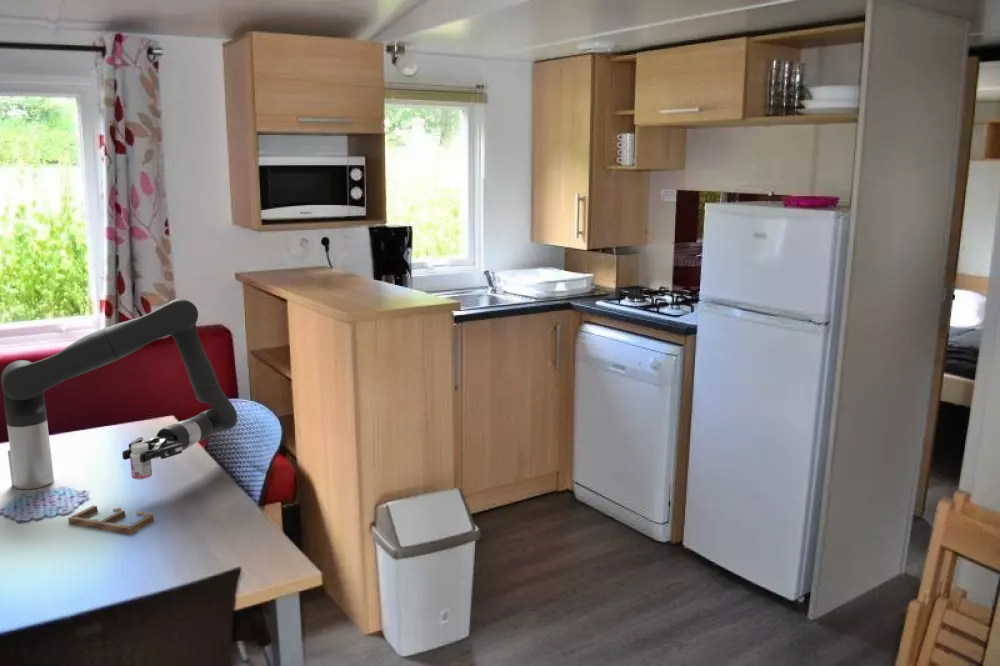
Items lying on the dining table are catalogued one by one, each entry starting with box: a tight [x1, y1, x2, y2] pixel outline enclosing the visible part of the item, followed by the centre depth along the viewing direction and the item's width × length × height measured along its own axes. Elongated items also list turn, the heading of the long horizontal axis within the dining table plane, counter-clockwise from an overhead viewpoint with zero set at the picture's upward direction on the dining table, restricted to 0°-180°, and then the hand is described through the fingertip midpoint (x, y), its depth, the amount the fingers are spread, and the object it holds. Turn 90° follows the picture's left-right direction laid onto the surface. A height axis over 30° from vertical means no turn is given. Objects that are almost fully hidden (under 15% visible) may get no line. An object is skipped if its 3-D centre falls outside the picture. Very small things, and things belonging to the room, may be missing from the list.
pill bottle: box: [129, 443, 153, 481], centre depth 207 cm, size 5×5×8 cm
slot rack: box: [67, 505, 155, 536], centre depth 197 cm, size 18×11×2 cm, turn 71°
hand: (132, 457), depth 204 cm, fingers closed on pill bottle, 4 cm apart
